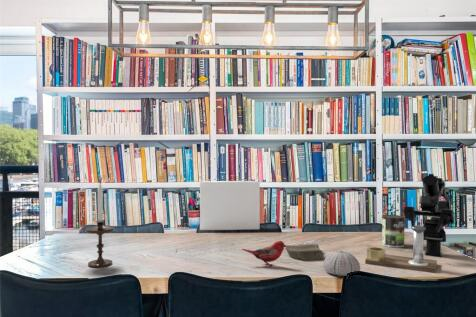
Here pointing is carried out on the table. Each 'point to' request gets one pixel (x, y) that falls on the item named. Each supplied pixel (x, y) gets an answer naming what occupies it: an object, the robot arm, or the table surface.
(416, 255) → the silver flared column
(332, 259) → the sea urchin shell
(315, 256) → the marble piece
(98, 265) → the candlestick
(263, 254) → the decorative bird figurine
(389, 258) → the walnut board
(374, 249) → the brass collar
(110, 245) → the table surface
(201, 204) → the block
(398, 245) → the coffee can
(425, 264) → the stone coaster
